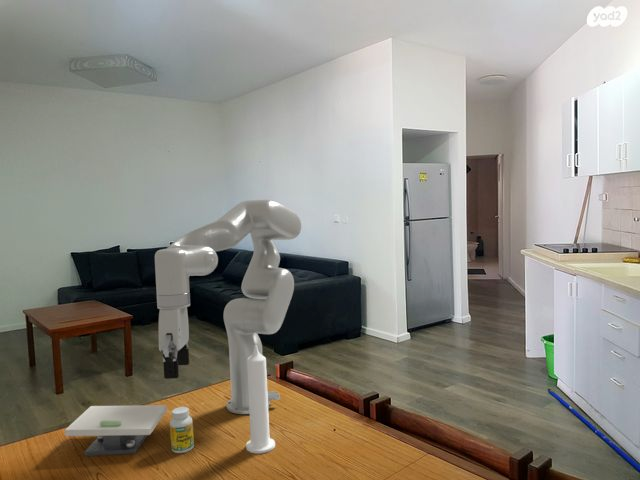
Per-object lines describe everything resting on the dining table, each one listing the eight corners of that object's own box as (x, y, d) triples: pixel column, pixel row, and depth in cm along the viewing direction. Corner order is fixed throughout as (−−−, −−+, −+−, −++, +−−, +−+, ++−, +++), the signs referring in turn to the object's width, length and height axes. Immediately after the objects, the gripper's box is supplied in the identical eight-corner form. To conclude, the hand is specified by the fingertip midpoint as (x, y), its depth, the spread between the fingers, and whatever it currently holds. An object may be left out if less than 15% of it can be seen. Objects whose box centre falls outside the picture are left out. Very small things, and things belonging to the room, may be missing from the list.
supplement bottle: (190, 441, 123) (187, 403, 123) (197, 449, 119) (195, 410, 118) (168, 447, 120) (166, 409, 120) (175, 456, 116) (172, 416, 115)
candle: (279, 441, 121) (275, 341, 119) (267, 455, 115) (262, 350, 113) (254, 438, 124) (249, 340, 122) (240, 451, 117) (235, 348, 115)
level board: (166, 410, 131) (166, 400, 131) (149, 434, 117) (149, 423, 117) (91, 411, 131) (90, 401, 131) (65, 436, 117) (64, 424, 117)
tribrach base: (152, 429, 131) (151, 413, 131) (135, 453, 118) (133, 436, 118) (106, 431, 131) (105, 415, 130) (84, 456, 118) (83, 438, 117)
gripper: (168, 294, 126) (171, 360, 127) (145, 308, 108) (149, 384, 109) (197, 293, 126) (201, 359, 127) (179, 307, 109) (183, 383, 110)
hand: (177, 371), depth 118 cm, fingers open, 9 cm apart
